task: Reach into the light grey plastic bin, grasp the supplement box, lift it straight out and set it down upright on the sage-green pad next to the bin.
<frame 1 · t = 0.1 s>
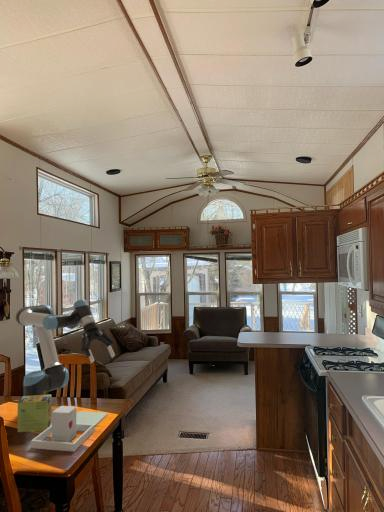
hand: (103, 359, 208), 36 cm above the table, tool tilted 35°, fingers open, 13 cm apart
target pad: (86, 420, 215), on the table
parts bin: (64, 439, 192), on the table
supplement box: (64, 439, 192), resting in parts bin
protein box: (35, 427, 207), on the table
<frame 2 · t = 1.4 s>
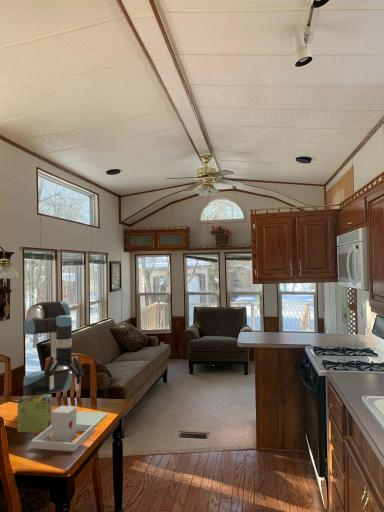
hand: (64, 389, 192), 25 cm above the table, tool pointing down, fingers open, 13 cm apart
nothing on the table moved.
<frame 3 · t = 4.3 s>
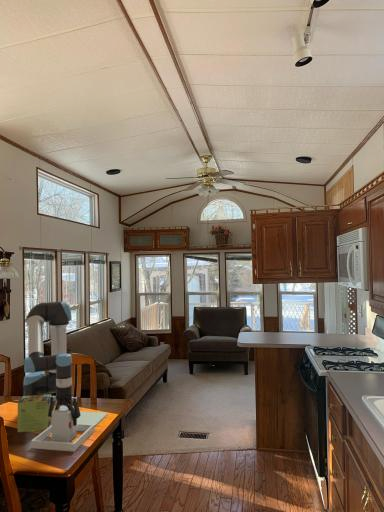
hand: (64, 431, 192), 4 cm above the table, tool pointing down, fingers closed on supplement box, 9 cm apart
supplement box: (64, 439, 192), resting in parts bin, touching gripper
everything else where it was.
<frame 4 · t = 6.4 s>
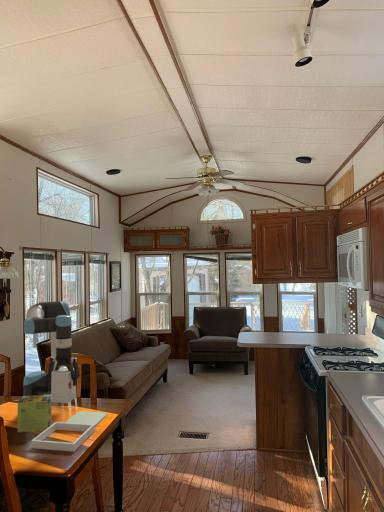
hand: (64, 391, 193), 23 cm above the table, tool pointing down, fingers closed on supplement box, 9 cm apart
supplement box: (64, 400, 193), point 19 cm above the table, touching gripper
everything else where it was.
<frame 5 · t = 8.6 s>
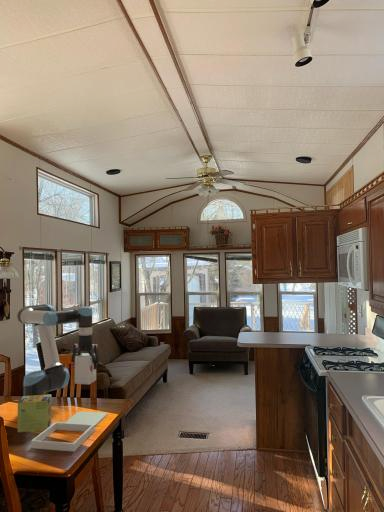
hand: (85, 374, 216), 25 cm above the table, tool pointing down, fingers closed on supplement box, 9 cm apart
supplement box: (85, 382, 216), point 21 cm above the table, touching gripper
everything else where it was.
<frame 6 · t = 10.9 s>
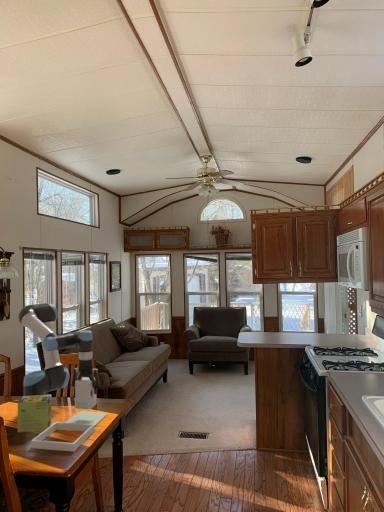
hand: (86, 399, 216), 12 cm above the table, tool pointing down, fingers closed on supplement box, 9 cm apart
supplement box: (86, 406, 216), point 7 cm above the table, touching gripper
everything else where it was.
when the fingers open (6 cm above the table, at t = 12.9 s): supplement box drops 1 cm, resting on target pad.
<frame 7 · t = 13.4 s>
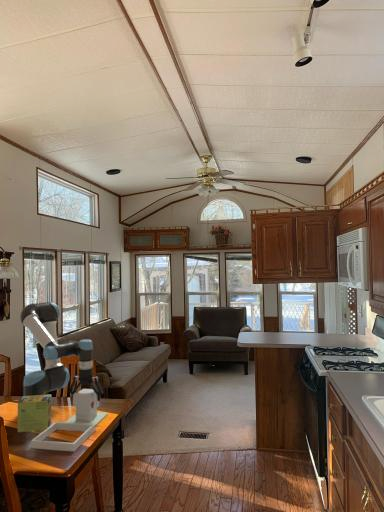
hand: (86, 406, 216), 8 cm above the table, tool pointing down, fingers open, 13 cm apart
supplement box: (86, 418, 215), point 1 cm above the table, touching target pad
everything else where it was.
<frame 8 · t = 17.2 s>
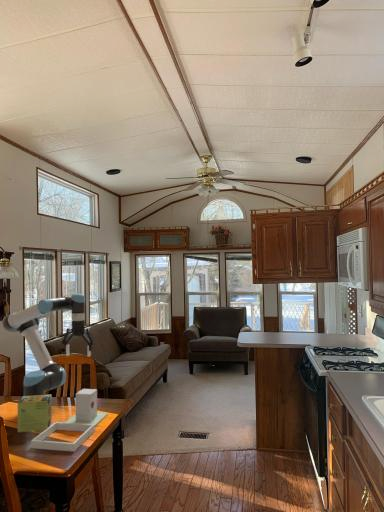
hand: (78, 356, 229), 33 cm above the table, tool pointing down, fingers open, 13 cm apart
nothing on the table moved.
at the end: supplement box inside the target area on the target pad (0.3 cm from its centre), point 0.8 cm above the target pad's base; supplement box tilted 0°; the gripper is holding nothing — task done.
